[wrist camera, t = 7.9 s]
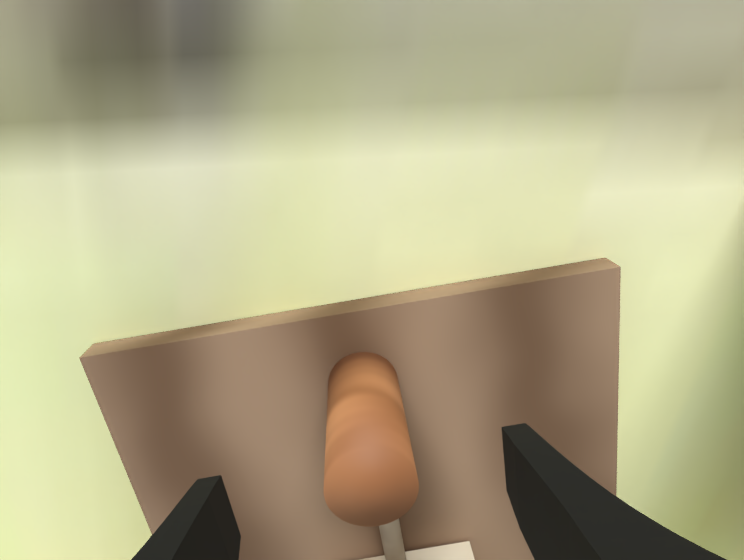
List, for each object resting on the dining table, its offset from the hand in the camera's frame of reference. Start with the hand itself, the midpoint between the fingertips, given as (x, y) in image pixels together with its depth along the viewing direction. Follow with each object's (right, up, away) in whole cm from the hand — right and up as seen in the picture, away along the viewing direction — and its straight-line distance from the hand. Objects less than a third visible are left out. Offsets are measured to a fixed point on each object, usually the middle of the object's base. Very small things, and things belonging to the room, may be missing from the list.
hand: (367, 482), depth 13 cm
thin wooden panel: (+2, -12, +11) cm, 17 cm away
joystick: (+1, -4, +7) cm, 8 cm away
